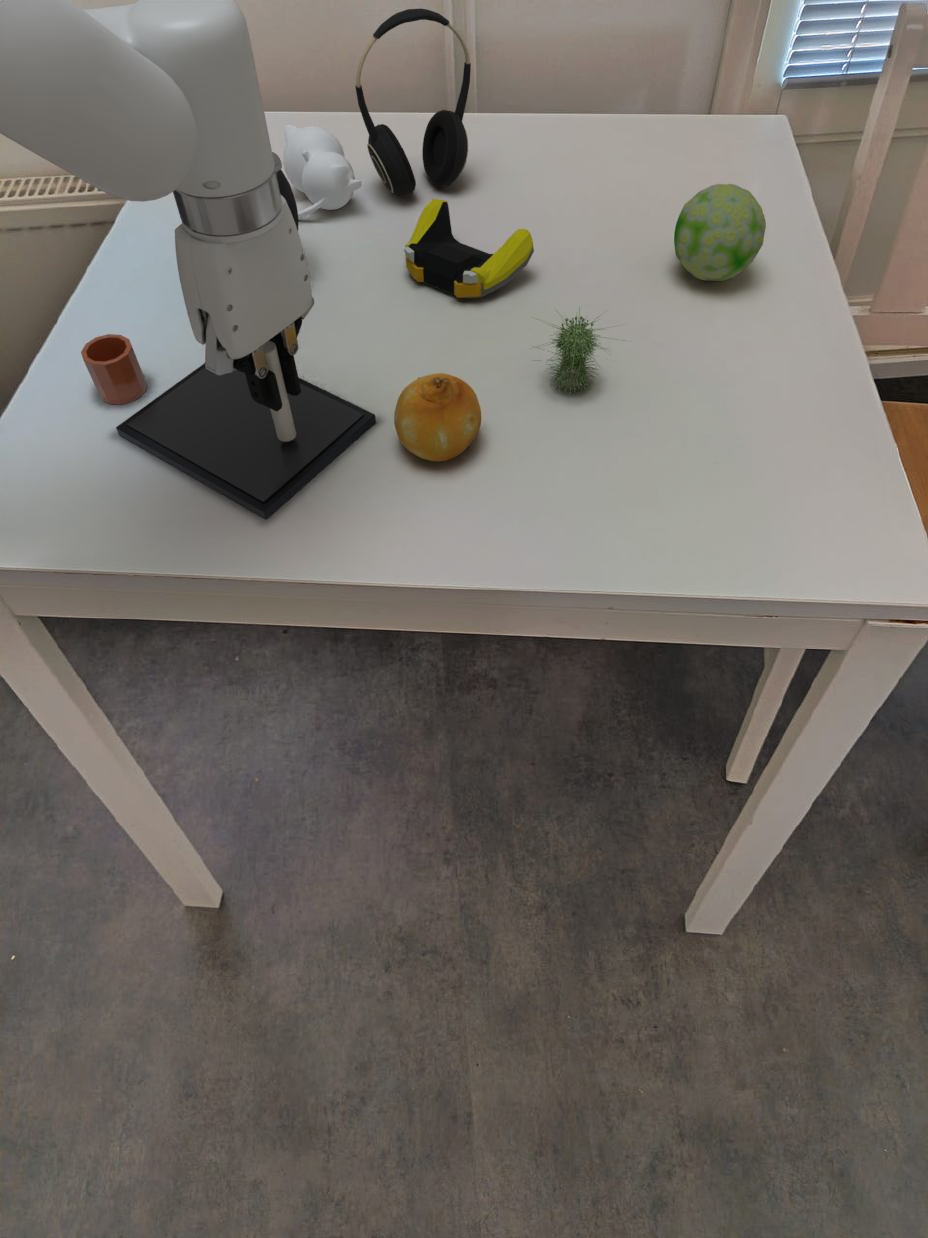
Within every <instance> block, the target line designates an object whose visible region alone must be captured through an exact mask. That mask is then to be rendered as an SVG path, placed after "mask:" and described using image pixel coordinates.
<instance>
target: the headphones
mask: <svg viewBox="0 0 928 1238" xmlns="http://www.w3.org/2000/svg"><path fill="white" fill-rule="evenodd" d="M417 21H431V22H435V23H438V24H441V26H442V25H443V26H444V27H447V28H448V29H449V30H450V31H452V32H453V34H454V35H455V36H456V38H457V39H458V41H459V43H460V45H461V47H462V50H463V53H464V63H463V64H464V66H463V72H462V73H463V75H462V81H461V87H460V91H459V96H458V99H457V102H456V106H455V111H452V110H447V109H442V110H438V111H436V112H435V113H434V114H433V115H432V116H431V117H430V119H429V121H428V123H427V125H426V128H425V130H424V135H423V140H422V141H423V142H422V151H421V153H422V165H423V169H424V172H425V175H426V177H427V179H428V180H429V181H430V182H431V183H432V184H433V185H435V186H437V187H443V188H444V187H449V186H451V185H452V184H454V183H455V181H457V179H458V178H459V177H460V175H461V174H462V172H463V171H464V169H465V167H466V163H467V161H468V154H469V138H468V137H469V136H468V132H467V130H466V128H465V125H464V123H463V119H464V114H465V110H466V105H467V100H468V97H469V89H470V84H471V69H472V68H471V67H472V63H471V59H470V53H469V49H468V47H467V44H466V42H465V40H464V38H463V36H462V35H461V33H460V32H459V30H457V28H455V27H454V25H453V24H452V23H451V22H450V21H449V19H447V18H446V17H445V16H443V15H442V14H441V13H440V12H436V11H434V10H430V9H427V8H407V9H404V10H401V11H399V12H396V13H394V14H393V15H391V16H390V17H389V18H386V20H384V21H383V22H382V23H381V24H380V25H379V26H378V28H377V29H376V30H375V31H374V33H373V34H372V36H371V39H370V41H368V43H367V45H366V46H365V48H364V50H363V52H362V54H361V56H360V58H359V62H358V65H357V69H356V75H355V85H354V87H355V92H356V100H357V104H358V108H359V111H360V114H361V118H362V120H363V123H364V126H365V128H366V131H367V133H368V140H367V144H366V146H367V150H368V151H367V152H368V154H369V158H370V160H371V162H372V164H373V167H374V169H375V171H376V172H377V173H376V174H378V176H379V178H380V180H381V181H382V183H383V184H384V186H385V187H386V188H387V190H388V191H389V192H390V193H393V194H395V195H397V196H400V197H408V196H409V195H411V194H413V192H414V191H415V189H416V186H417V183H416V178H415V174H414V171H413V168H412V166H411V162H410V161H409V158H408V157H407V154H406V152H405V150H404V148H403V147H402V145H401V143H400V141H399V139H398V138H397V136H396V135H395V133H394V131H392V130H391V128H390V127H389V126H388V125H386V124H383V123H380V124H377V125H376V126H375V123H374V121H373V119H372V117H371V114H370V112H369V109H368V107H367V103H366V100H365V95H364V91H363V86H362V85H361V76H362V71H363V67H364V64H365V61H366V58H367V56H368V54H369V52H370V51H371V49H372V48H373V46H374V44H376V42H377V41H378V40H380V39H381V38H382V37H383V36H384V35H385V34H387V33H388V32H390V31H391V30H393V29H395V28H396V27H398V26H400V25H403V24H407V23H412V22H417Z"/></svg>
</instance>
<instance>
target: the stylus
mask: <svg viewBox="0 0 928 1238" xmlns="http://www.w3.org/2000/svg"><path fill="white" fill-rule="evenodd" d="M262 347H263V351H264V355H265V359H266V363H267V366H268V370H270V371H272V372H274V374H275V376H276V380H277V384H278V388H279V392H280V396H281V401H282V408H281V409H280V410H279V411H278V412H277V411H274V410H272V409H270V410H271V414H272V417H273V421H274V425H275V429H276V433H277V437H278V439H279V440H281V441H284V442H290V441H291V440H293V439H294V438H295V437H296V430H295V426H294V422H293V417H292V413H291V409H290V404H289V400H288V396H287V391H286V387H285V383H284V379H283V374H282V370H281V366H280V361H279V357H278V353H277V348H276V345H275V343H274V342H272V341H267V342H266V343H264V344H263V345H262Z"/></svg>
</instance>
